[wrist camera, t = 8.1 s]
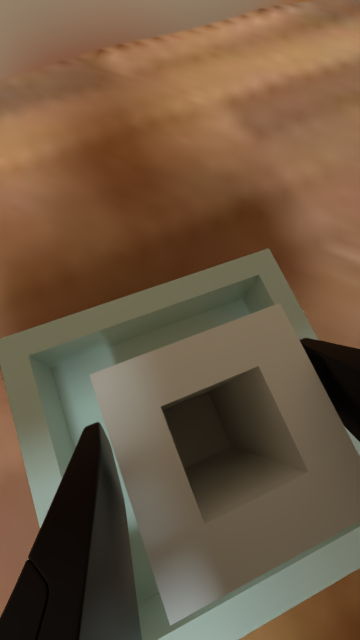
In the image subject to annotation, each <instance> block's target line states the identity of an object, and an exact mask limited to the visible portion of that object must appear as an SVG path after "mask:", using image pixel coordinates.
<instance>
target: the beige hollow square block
mask: <svg viewBox="0 0 360 640" xmlns="http://www.w3.org/2000/svg"><path fill="white" fill-rule="evenodd" d="M89 376H90V379H91V382H92V385H93V388H94V391H95V394H96V397H97V400H98V403H99V407H100V410H101V413H102V416H103V419H104V422H105V425H106V428H107V431H108V434H109V438H110V441H111V444H112V447H113V450H114V453H115V456H116V459H117V462H118V466H119V469H120V472H121V475H122V478H123V481H124V484H125V487H126V490H127V493H128V497H129V500H130V503H131V506H132V509H133V512H134V515H135V518H136V521H137V524H138V528H139V531H140V534H141V537H142V540H143V543H144V546H145V549H146V552H147V556H148V559H149V562H150V565H151V568H152V571H153V574H154V577H155V580H156V583H157V587H158V590H159V593H160V596H161V599H162V602H163V605H164V608H165V611H166V615H167V618H168V621H169V624H170V626H171V625H172V624H174V623H176V622H178V621H180V620H181V619H183V618H185V617H187V616H189V615H190V614H192V613H194V612H196V611H198V610H199V609H201V608H203V607H205V606H207V605H208V604H210V603H212V602H214V601H216V600H218V599H219V598H221V597H223V596H225V595H227V594H228V593H230V592H232V591H234V590H236V589H237V588H239V587H241V586H243V585H245V584H246V583H248V582H250V581H252V580H254V579H255V578H257V577H259V576H261V575H263V574H264V573H266V572H268V571H270V570H272V569H274V568H275V567H277V566H279V565H281V564H283V563H284V562H286V561H288V560H290V559H292V558H293V557H295V556H297V555H299V554H301V553H302V552H304V551H306V550H308V549H310V548H311V547H313V546H315V545H317V544H319V543H320V542H322V541H324V540H326V539H328V538H329V537H331V536H333V535H335V534H337V533H339V532H340V531H342V530H344V529H346V528H348V527H349V526H351V525H353V524H355V523H357V522H358V521H360V456H359V454H358V452H357V450H356V448H355V447H354V445H353V443H352V441H351V439H350V437H349V435H348V433H347V431H346V429H345V427H344V425H343V423H342V421H341V419H340V418H339V416H338V414H337V412H336V410H335V408H334V406H333V404H332V402H331V400H330V398H329V396H328V394H327V392H326V391H325V389H324V387H323V385H322V383H321V381H320V379H319V377H318V375H317V373H316V371H315V369H314V367H313V365H312V363H311V362H310V360H309V358H308V356H307V354H306V352H305V350H304V348H303V346H302V344H301V342H300V340H299V338H298V336H297V335H296V333H295V331H294V329H293V327H292V325H291V323H290V321H289V319H288V317H287V315H286V313H285V311H284V309H283V307H282V306H281V304H280V303H279V304H276V305H273V306H271V307H268V308H265V309H263V310H260V311H257V312H255V313H252V314H249V315H247V316H244V317H241V318H239V319H236V320H233V321H231V322H228V323H225V324H223V325H220V326H217V327H215V328H212V329H209V330H207V331H204V332H201V333H199V334H196V335H193V336H191V337H188V338H186V339H183V340H180V341H178V342H175V343H172V344H170V345H167V346H164V347H162V348H159V349H156V350H154V351H151V352H148V353H146V354H143V355H140V356H138V357H135V358H132V359H130V360H127V361H124V362H122V363H119V364H116V365H114V366H111V367H108V368H106V369H103V370H100V371H98V372H95V373H92V374H90V375H89Z"/></svg>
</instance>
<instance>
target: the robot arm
mask: <svg viewBox="0 0 360 640" xmlns="http://www.w3.org/2000/svg"><path fill="white" fill-rule="evenodd" d="M300 342H301V344H302V346H303V348H304V350H305V352H306V354H307V356H308V358H309V360H310V362H311V363H312V365H313V367H314V369H315V371H316V373H317V375H318V377H319V379H320V381H321V383H322V385H323V387H324V389H325V391H326V392H327V394H328V396H329V398H330V400H331V402H332V404H333V406H334V408H335V410H336V412H337V414H338V416H339V418H340V419H341V421H342V423H343V425H344V427H345V428H346V429H347V430H348V431H349V432H350V433H351V434H352V435H353V436H354V437H355V438H356V439H357V440H358V441H359V442H360V349H357V348H352V347H347V346H343V345H338V344H334V343H329V342H324V341H320V340H315V339H310V338H303V339H300ZM28 558H29V560H27V561H26V562H25V565H24V567H23V569H22V572H21V574H20V576H19V578H18V581H17V583H16V585H15V587H14V589H13V592H12V594H11V596H10V598H9V600H8V602H7V605H6V607H5V609H4V611H3V613H2V615H1V617H0V640H142V636H141V628H140V620H139V612H138V604H137V596H136V588H135V580H134V572H133V564H132V556H131V548H130V539H129V531H128V523H127V515H126V508H125V501H124V497H123V492H122V488H121V484H120V480H119V476H118V472H117V468H116V464H115V460H114V456H113V452H112V448H111V445H110V442H109V440H108V438H107V436H106V434H105V432H104V429H103V427H102V425H101V424H100V423H99V422H96V423H93V424H91V425H88V426H86V427H85V428H84V429H83V431H82V434H81V436H80V438H79V441H78V443H77V445H76V448H75V450H74V452H73V454H72V457H71V459H70V461H69V464H68V466H67V468H66V471H65V473H64V475H63V478H62V480H61V482H60V484H59V487H58V489H57V491H56V494H55V496H54V498H53V501H52V503H51V505H50V507H49V510H48V512H47V514H46V517H45V519H44V521H43V524H42V526H41V528H40V530H39V533H38V535H37V537H36V540H35V542H34V544H33V547H32V549H31V551H30V553H29V556H28Z"/></svg>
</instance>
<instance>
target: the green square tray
mask: <svg viewBox="0 0 360 640" xmlns="http://www.w3.org/2000/svg"><path fill="white" fill-rule="evenodd" d="M279 303H280V304H281V306H282V307H283V309H284V311H285V313H286V315H287V317H288V319H289V321H290V323H291V325H292V327H293V329H294V331H295V333H296V335H297V336H298V338H299V340H300V339H303V338H310V339H315V340H319V339H318V338H317V336H316V334H315V332H314V330H313V328H312V327H311V325H310V323H309V321H308V319H307V317H306V316H305V314H304V312H303V310H302V308H301V306H300V304H299V303H298V301H297V299H296V297H295V295H294V293H293V292H292V290H291V288H290V286H289V284H288V282H287V281H286V279H285V277H284V275H283V273H282V271H281V269H280V268H279V266H278V264H277V262H276V260H275V258H274V257H273V255H272V253H271V251H270V249H269V248H268V249H265V250H262V251H259V252H256V253H253V254H250V255H247V256H244V257H241V258H238V259H235V260H232V261H229V262H226V263H223V264H220V265H217V266H214V267H211V268H208V269H205V270H202V271H199V272H196V273H193V274H190V275H187V276H184V277H181V278H178V279H175V280H172V281H169V282H167V283H164V284H161V285H158V286H155V287H152V288H149V289H146V290H143V291H140V292H137V293H134V294H131V295H128V296H125V297H122V298H119V299H116V300H113V301H110V302H107V303H104V304H101V305H98V306H95V307H92V308H89V309H86V310H83V311H80V312H77V313H74V314H71V315H68V316H65V317H63V318H60V319H57V320H54V321H51V322H48V323H45V324H42V325H39V326H36V327H33V328H30V329H27V330H24V331H21V332H18V333H15V334H12V335H9V336H6V337H3V338H0V366H1V370H2V374H3V378H4V382H5V386H6V391H7V395H8V399H9V403H10V407H11V411H12V415H13V419H14V423H15V427H16V432H17V436H18V440H19V444H20V448H21V452H22V456H23V460H24V464H25V468H26V473H27V477H28V481H29V485H30V489H31V493H32V497H33V501H34V505H35V509H36V514H37V518H38V522H39V526H40V528H41V526H42V524H43V521H44V519H45V517H46V514H47V512H48V510H49V507H50V505H51V503H52V501H53V498H54V496H55V494H56V491H57V489H58V487H59V484H60V482H61V480H62V478H63V475H64V473H65V471H66V468H67V466H68V464H69V461H70V459H71V457H72V454H73V452H74V450H75V448H76V445H77V443H78V441H79V438H80V436H81V434H82V431H83V429H84V428H85V427H86V426H88V425H91V424H93V423H96V422H99V423H100V424H101V425H102V427H103V429H104V432H105V434H106V436H107V438H108V440H109V442H110V445H111V448H112V452H113V456H114V460H115V464H116V468H117V472H118V476H119V480H120V484H121V488H122V492H123V497H124V501H125V508H126V515H127V523H128V531H129V539H130V548H131V556H132V564H133V572H134V580H135V588H136V596H137V604H138V612H139V620H140V628H141V636H142V640H238V639H240V638H242V637H244V636H245V635H247V634H249V633H250V632H252V631H254V630H255V629H257V628H259V627H261V626H262V625H264V624H266V623H267V622H269V621H271V620H272V619H274V618H276V617H278V616H279V615H281V614H283V613H284V612H286V611H288V610H289V609H291V608H293V607H294V606H296V605H298V604H300V603H301V602H303V601H305V600H306V599H308V598H310V597H311V596H313V595H315V594H317V593H318V592H320V591H322V590H323V589H325V588H327V587H328V586H330V585H332V584H334V583H335V582H337V581H339V580H340V579H342V578H344V577H345V576H347V575H349V574H351V573H352V572H354V571H356V570H357V569H359V568H360V521H358V522H357V523H355V524H353V525H351V526H349V527H348V528H346V529H344V530H342V531H340V532H339V533H337V534H335V535H333V536H331V537H329V538H328V539H326V540H324V541H322V542H320V543H319V544H317V545H315V546H313V547H311V548H310V549H308V550H306V551H304V552H302V553H301V554H299V555H297V556H295V557H293V558H292V559H290V560H288V561H286V562H284V563H283V564H281V565H279V566H277V567H275V568H274V569H272V570H270V571H268V572H266V573H264V574H263V575H261V576H259V577H257V578H255V579H254V580H252V581H250V582H248V583H246V584H245V585H243V586H241V587H239V588H237V589H236V590H234V591H232V592H230V593H228V594H227V595H225V596H223V597H221V598H219V599H218V600H216V601H214V602H212V603H210V604H208V605H207V606H205V607H203V608H201V609H199V610H198V611H196V612H194V613H192V614H190V615H189V616H187V617H185V618H183V619H181V620H180V621H178V622H176V623H174V624H172V625H171V626H170V624H169V621H168V618H167V615H166V611H165V608H164V605H163V602H162V599H161V596H160V593H159V590H158V587H157V583H156V580H155V577H154V574H153V571H152V568H151V565H150V562H149V559H148V556H147V552H146V549H145V546H144V543H143V540H142V537H141V534H140V531H139V528H138V524H137V521H136V518H135V515H134V512H133V509H132V506H131V503H130V500H129V497H128V493H127V490H126V487H125V484H124V481H123V478H122V475H121V472H120V469H119V466H118V462H117V459H116V456H115V453H114V450H113V447H112V444H111V441H110V438H109V434H108V431H107V428H106V425H105V422H104V419H103V416H102V413H101V410H100V407H99V403H98V400H97V397H96V394H95V391H94V388H93V385H92V382H91V379H90V376H89V375H90V374H92V373H95V372H98V371H100V370H103V369H106V368H108V367H111V366H114V365H116V364H119V363H122V362H124V361H127V360H130V359H132V358H135V357H138V356H140V355H143V354H146V353H148V352H151V351H154V350H156V349H159V348H162V347H164V346H167V345H170V344H172V343H175V342H178V341H180V340H183V339H186V338H188V337H191V336H193V335H196V334H199V333H201V332H204V331H207V330H209V329H212V328H215V327H217V326H220V325H223V324H225V323H228V322H231V321H233V320H236V319H239V318H241V317H244V316H247V315H249V314H252V313H255V312H257V311H260V310H263V309H265V308H268V307H271V306H273V305H276V304H279ZM345 429H346V428H345ZM346 431H347V433H348V435H349V437H350V439H351V441H352V443H353V445H354V447H355V448H356V450H357V452H358V454H359V456H360V442H359V441H358V440H357V439H356V438H355V437H354V436H353V435H352V434H351V433H350V432H349V431H348V430H347V429H346Z"/></svg>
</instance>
